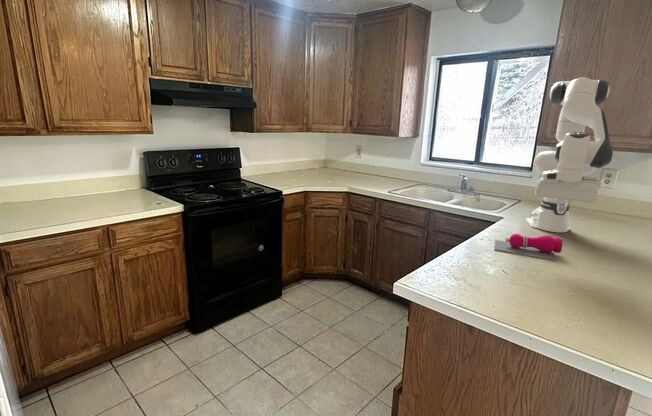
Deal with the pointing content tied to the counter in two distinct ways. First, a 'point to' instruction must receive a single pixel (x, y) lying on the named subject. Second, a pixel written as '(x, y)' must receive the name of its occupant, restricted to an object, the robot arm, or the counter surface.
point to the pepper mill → (536, 243)
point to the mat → (523, 251)
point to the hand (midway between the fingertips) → (561, 210)
